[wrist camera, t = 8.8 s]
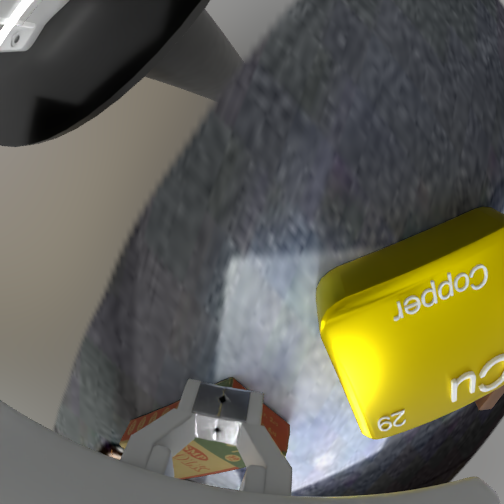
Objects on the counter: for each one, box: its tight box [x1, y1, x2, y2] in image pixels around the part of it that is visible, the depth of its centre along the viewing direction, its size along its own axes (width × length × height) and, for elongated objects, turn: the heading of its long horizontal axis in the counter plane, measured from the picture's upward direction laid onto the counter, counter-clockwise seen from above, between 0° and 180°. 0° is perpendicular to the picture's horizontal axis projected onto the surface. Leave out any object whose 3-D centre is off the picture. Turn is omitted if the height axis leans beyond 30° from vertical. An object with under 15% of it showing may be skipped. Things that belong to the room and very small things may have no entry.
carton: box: [120, 378, 290, 479], centre depth 26 cm, size 8×16×4 cm, turn 129°
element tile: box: [316, 207, 504, 439], centre depth 18 cm, size 15×15×5 cm
